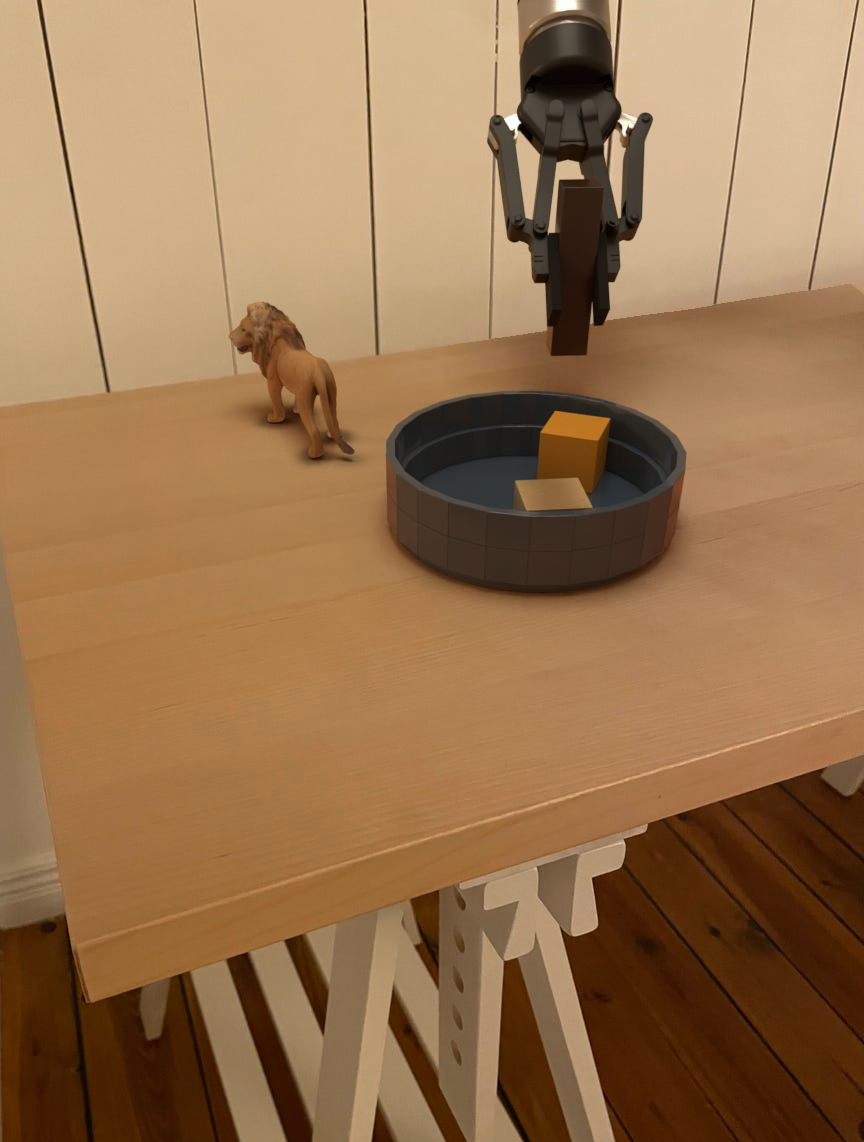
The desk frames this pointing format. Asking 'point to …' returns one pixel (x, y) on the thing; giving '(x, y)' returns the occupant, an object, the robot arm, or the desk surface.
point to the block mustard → (574, 448)
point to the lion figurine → (290, 370)
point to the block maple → (550, 495)
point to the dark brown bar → (576, 263)
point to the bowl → (509, 453)
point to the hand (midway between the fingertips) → (578, 317)
